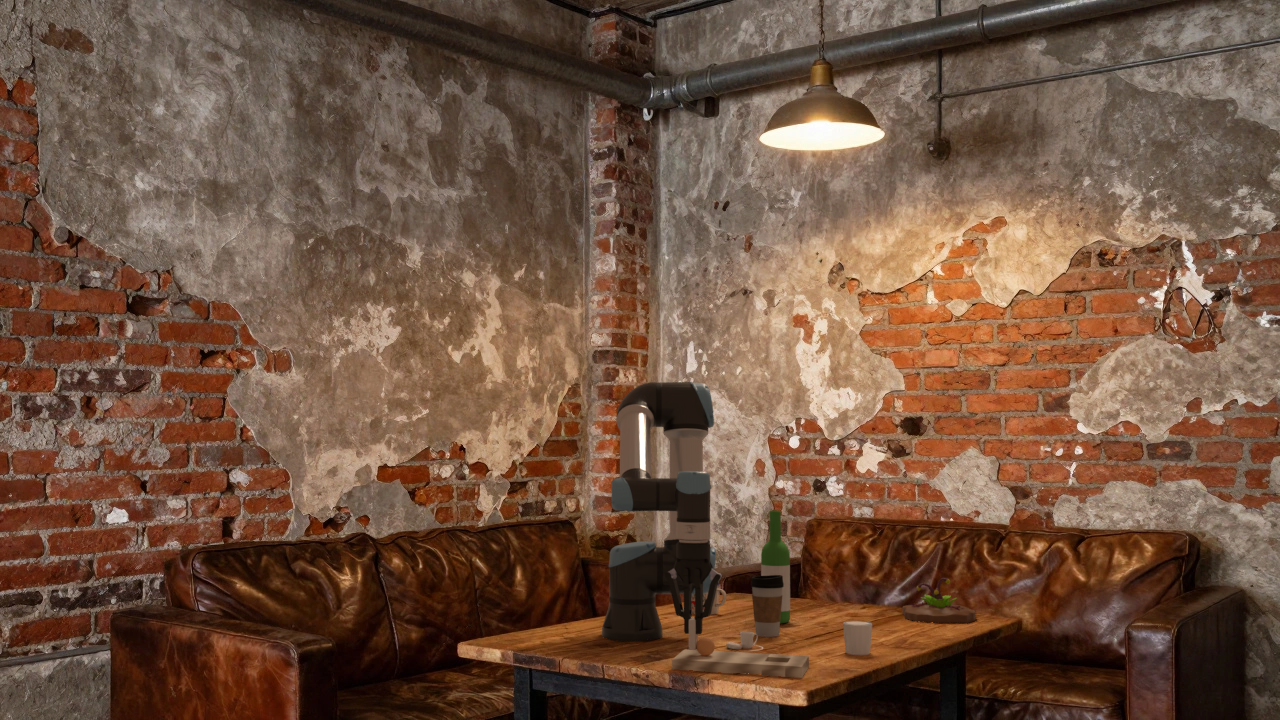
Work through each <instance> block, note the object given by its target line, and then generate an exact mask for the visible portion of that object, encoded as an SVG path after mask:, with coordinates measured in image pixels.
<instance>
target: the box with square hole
mask: <svg viewBox="0 0 1280 720" xmlns="http://www.w3.org/2000/svg"><path fill="white" fill-rule="evenodd" d="M809 667H810V656H809V655H800V654H799V655H798V654H797V655H795V654H781V653H780V654H778V653H776V654H775V653H763V652H762V653H761V652H759V653H758V652H745V651H744V652H740V651H725V650H724V651H723V650H722V651H721V650H720V651H719V650H714V651H713V653H712V654H711V655H708V656H703V655H701V654H700V653H699V652H698V651H697V649H696V650H689V648H688V649H687V648H685V649H683V650H682V651H681V652H679V653H678V654H677V655H676V656H675V657H673V658H672V659H671V670H674V669H681V670H680V671H689V670H693V671H694V672H704V671H705V672H706V673H718V672H721V674H722V673H723V674H733V673H741V674H740V675H743V674H742V673H746V674H745V675H748V673H749V674H761V675H760V676H763V675H770V676H769V677H778V676H781V677H782V678H793V677H794V678H795V679H803V677H804V676H803V675H805V674H806V672H807V670H808V669H809ZM693 671H692V672H693ZM705 672H704V673H705ZM781 677H780V678H781Z"/></svg>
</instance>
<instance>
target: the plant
mask: <svg viewBox="0 0 1280 720" xmlns="http://www.w3.org/2000/svg"><path fill="white" fill-rule="evenodd" d="M942 581H944V583H945V584H946V585H950V584H951V580H950V579H949V578H948V577H941V578H940V579H939V580H938V582H937V584H936V588H935V589H934V588H933V587H932V586H931V585H929V584H927V583H924V582H923V583H920V584H918V585H917V586H916V590H917V591H920V590H921V589H922V586H925V587H927V588H928V590H929V592H930V594H929V595H928V594H927V593H925V594H924V595H923V597H922V596H921V597H920V599H921V600H923V601H922V602H921V603H920V602H919V603H911V604H908V605H907V604H906V605H903V606H902V615H903V614H904V615H903V616H904V619H905V618H906V619H905V620H908V619H909V620H908V621H910V620H913V621H912V622H915V621H924V622H923V623H929V622H933V623H932V624H969V623H972V622H974V621H976V611H975V609H971V608H969V607H968V606H964V605H960V604H959V605H957V604H953V603H954V601H956V600H957V599H958V598H957V597H955V598H951V596H952V595H950V594H946V595H942V594H941V592H942V591H941V584H942ZM950 599H951V600H950Z"/></svg>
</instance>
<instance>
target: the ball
mask: <svg viewBox="0 0 1280 720" xmlns="http://www.w3.org/2000/svg"><path fill="white" fill-rule="evenodd" d="M715 646H716V645H715V642H714V641H713V640H712V639H711V638H710V637H707V636H704V637H701V638H698V642H697V646H696V647H697V649H696V650H697V651H698V652H699V653H700V654H701V655H703V656H708V655H711V654H712V653H713V651H715Z"/></svg>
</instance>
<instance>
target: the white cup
mask: <svg viewBox="0 0 1280 720" xmlns="http://www.w3.org/2000/svg"><path fill="white" fill-rule="evenodd" d="M842 627H843V639H844V647H845V648H844V649H845V653H846V654H847V655H853V656H867V655H870V654H871V645H872V635H873V634H872V633H873V623H872V622H871V621H864V620H848V621H847V620H846V621H844V622H842Z"/></svg>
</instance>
